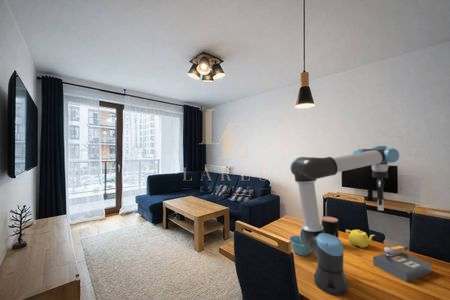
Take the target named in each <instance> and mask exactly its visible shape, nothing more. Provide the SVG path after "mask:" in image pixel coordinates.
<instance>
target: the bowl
mask: <svg viewBox="0 0 450 300" xmlns="http://www.w3.org/2000/svg"><path fill="white" fill-rule="evenodd" d="M288 240H289V242H290V241H291V244H290V246H291V245H292V247H291V250H292V251H293V252H294V253H295V254H296V255H298V256H306V257H307V256H308V255H310V254H311V252H312V251H311V250H310V249H309V248H307V247H306V246H305V245H304V244H303V243H302V241H301V239H300V235H291V236H289V238H288Z"/></svg>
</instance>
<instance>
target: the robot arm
mask: <svg viewBox="0 0 450 300" xmlns="http://www.w3.org/2000/svg"><path fill="white" fill-rule="evenodd" d="M399 159H400V152H399V151H398V150H397V149H396V148H394V147H393V148H392V147H387V146H386V145H372V146H371V148H356V149H354V150H353V151H352V153H351V154H348V155H343V156H342V155H341V156H337V157H331V156H326V157H313V156H311V157H309V156H308V157H307V156H306V157H305V156H301V157H300V156H299V157H296V158H294V159H293V160H292V161H291V163H290V166H289V168H290V169H289V170H290V172H291V174H292V175H294V182H296V183H297V184H298V190H299V191H298V192H299V197H300V205H301V211H302V212H301V213H302V219H303V224H302V225H301V230H300V231H299V236H300V239H301V241H302V243H303V244H304V245H305V246H306V247H307V248H309V249H310V250H311V252H312V253H313V254H314V255H316V258H317V261H316V262H317V266H316V269H315V272H314V275H313V282H314V284H315V286H316V287H317V288H319V289H320V290H321V291H323V292H325V293H328V294H330V295H335V296H343V295H347V293H348V292H349V284H348V281H347V279H346V275H345V273H344V245H343V242H342V241H341V239H340V238H339V237H338V238H337V237H336V236H334V235H330V234H327V233H324V228H323V226H322V223H321V222H320V217H319V207H318V201H317V193H316V186H315V182H316V181H317V180H318V179H322V178H326V177H331V176H335V175H337V174H338V173H341V172H345V171H350V170H355V169H359V168H364V167H369V166H371V170H372V171H371V177H372V178H376V180H375V184H376V193H377V195H376V196H377V197H376V198H375V200H377V211H382V212H383V211H385V210H384V208H385V207H384V205H385V203H384V200H386V199H385V197H384V187H385V180H383V179H388V178H389V172H388V171H389V170H388V169H389V167H390V166H389V165H388V164H391V163H396V162H398V160H399Z"/></svg>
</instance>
